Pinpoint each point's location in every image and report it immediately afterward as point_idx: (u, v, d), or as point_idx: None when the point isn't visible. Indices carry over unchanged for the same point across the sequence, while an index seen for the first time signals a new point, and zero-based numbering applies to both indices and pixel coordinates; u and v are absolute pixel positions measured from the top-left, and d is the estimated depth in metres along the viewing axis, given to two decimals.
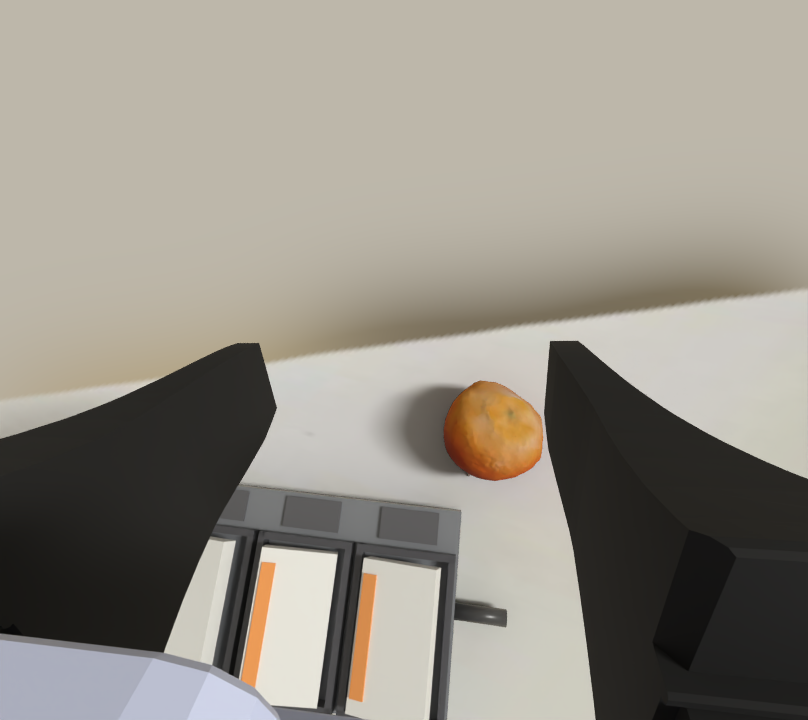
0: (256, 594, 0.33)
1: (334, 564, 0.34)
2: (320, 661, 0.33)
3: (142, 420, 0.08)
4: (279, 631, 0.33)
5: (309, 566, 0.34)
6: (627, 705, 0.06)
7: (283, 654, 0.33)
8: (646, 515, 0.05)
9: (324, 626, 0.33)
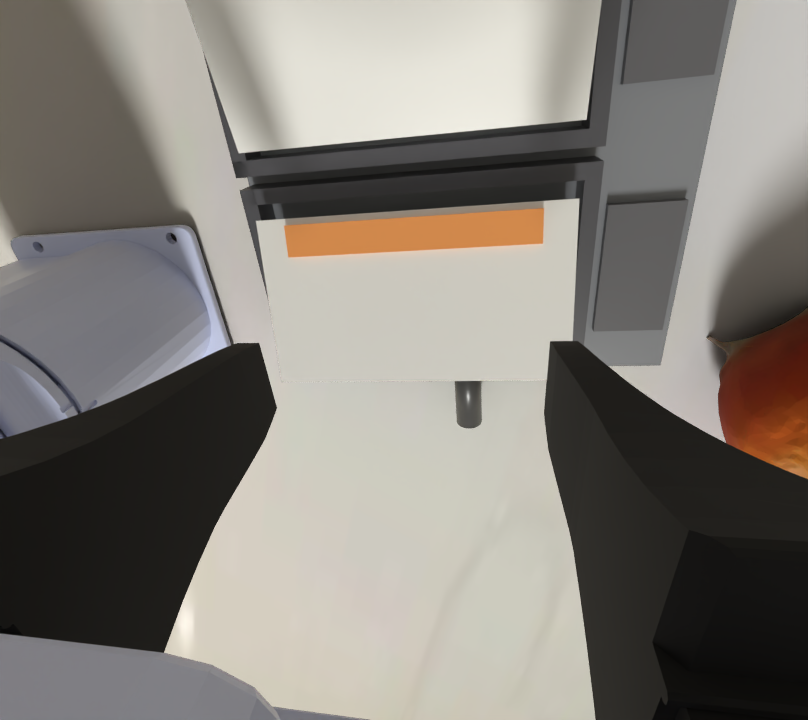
0: None
1: (559, 117, 0.12)
2: (329, 138, 0.13)
3: (142, 420, 0.08)
4: None
5: (553, 37, 0.11)
6: (627, 705, 0.06)
7: (313, 25, 0.12)
8: (646, 515, 0.05)
9: (404, 127, 0.13)
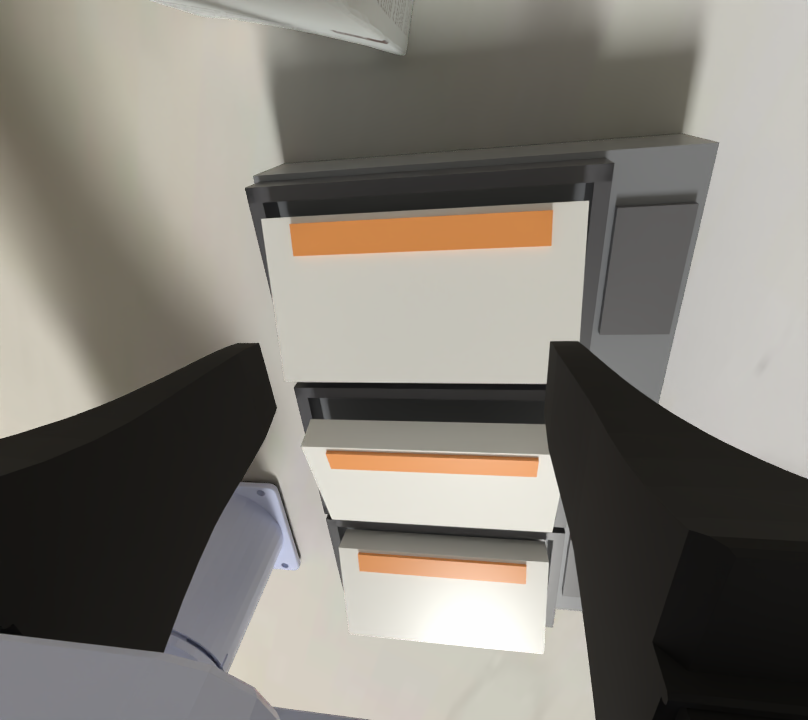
0: (476, 458, 0.17)
1: (535, 530, 0.20)
2: (391, 521, 0.21)
3: (142, 420, 0.08)
4: (421, 483, 0.19)
5: (531, 507, 0.19)
6: (627, 705, 0.06)
7: (388, 489, 0.19)
8: (645, 515, 0.05)
9: (439, 523, 0.21)
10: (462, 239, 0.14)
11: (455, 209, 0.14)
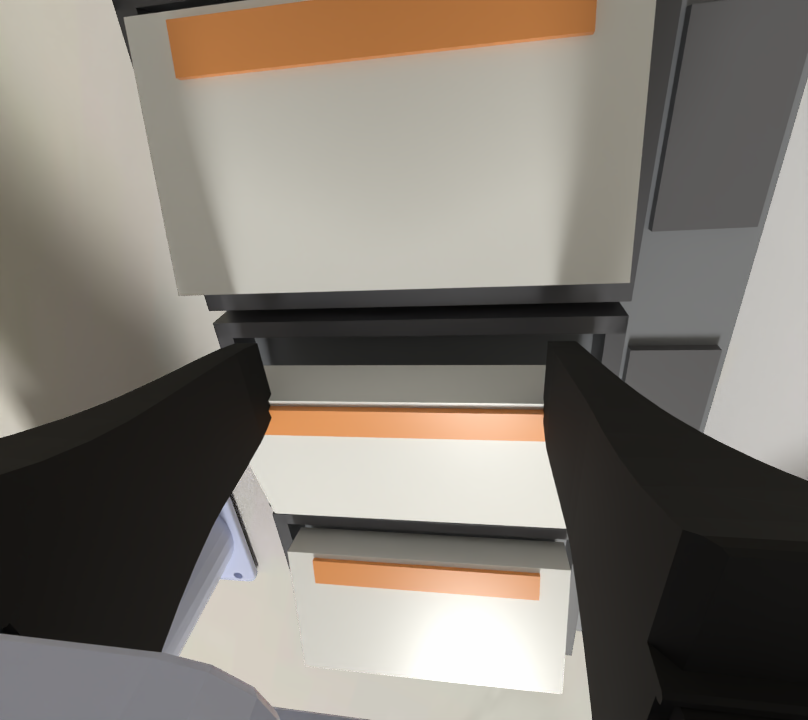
0: (470, 412, 0.11)
1: (554, 526, 0.14)
2: (354, 515, 0.15)
3: (140, 420, 0.08)
4: (391, 457, 0.13)
5: (549, 492, 0.13)
6: (622, 705, 0.06)
7: (346, 466, 0.14)
8: (641, 515, 0.05)
9: (421, 517, 0.15)
10: (445, 29, 0.08)
11: None
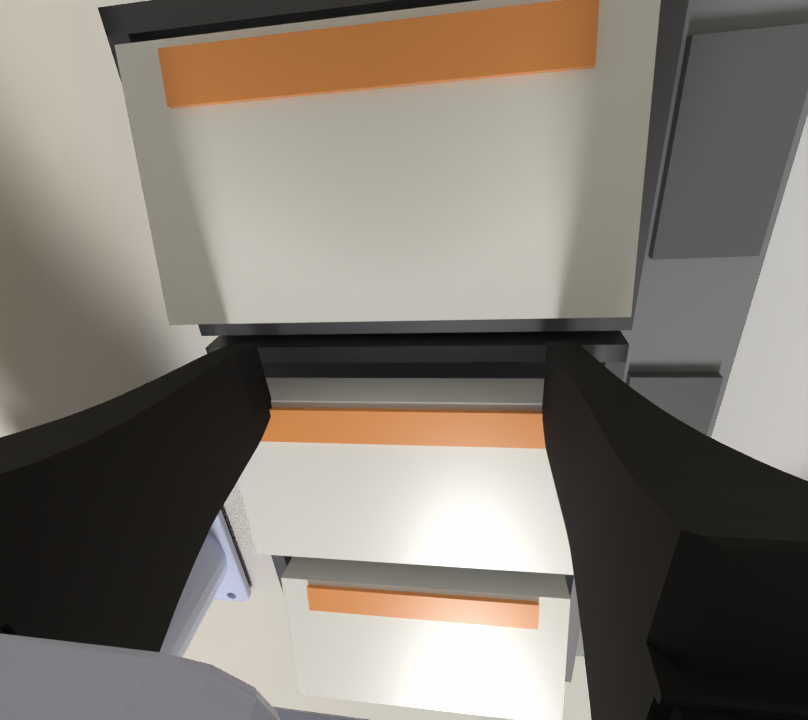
0: (468, 412, 0.12)
1: (558, 571, 0.13)
2: (342, 556, 0.14)
3: (138, 420, 0.08)
4: (387, 473, 0.13)
5: (550, 521, 0.13)
6: (621, 704, 0.06)
7: (339, 486, 0.13)
8: (639, 516, 0.05)
9: (414, 558, 0.14)
10: (442, 61, 0.08)
11: (430, 9, 0.08)
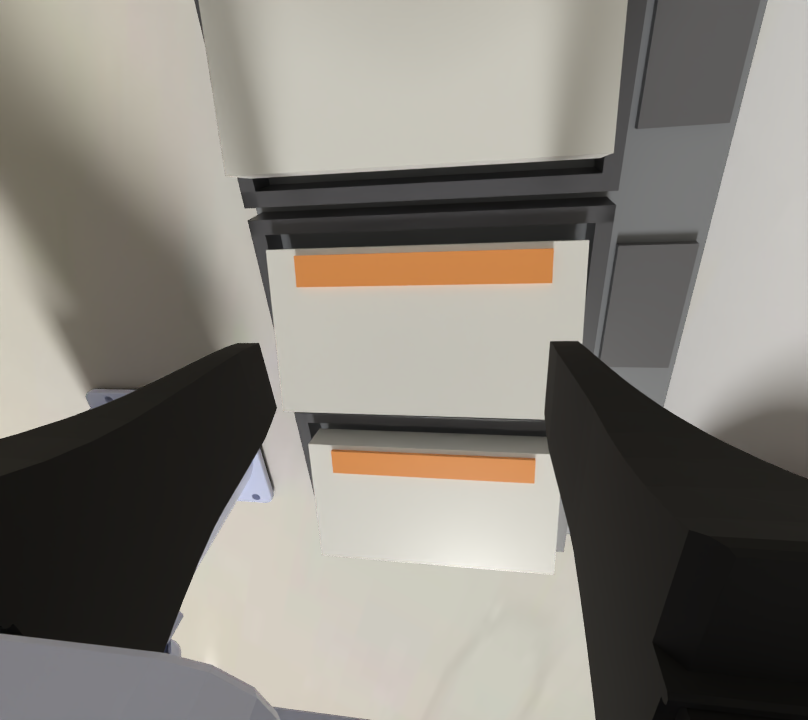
0: (477, 250, 0.14)
1: None
2: (361, 410, 0.16)
3: (142, 420, 0.08)
4: (405, 317, 0.15)
5: (547, 362, 0.14)
6: (627, 705, 0.06)
7: (363, 333, 0.15)
8: (646, 516, 0.05)
9: (425, 409, 0.16)
10: None
11: None
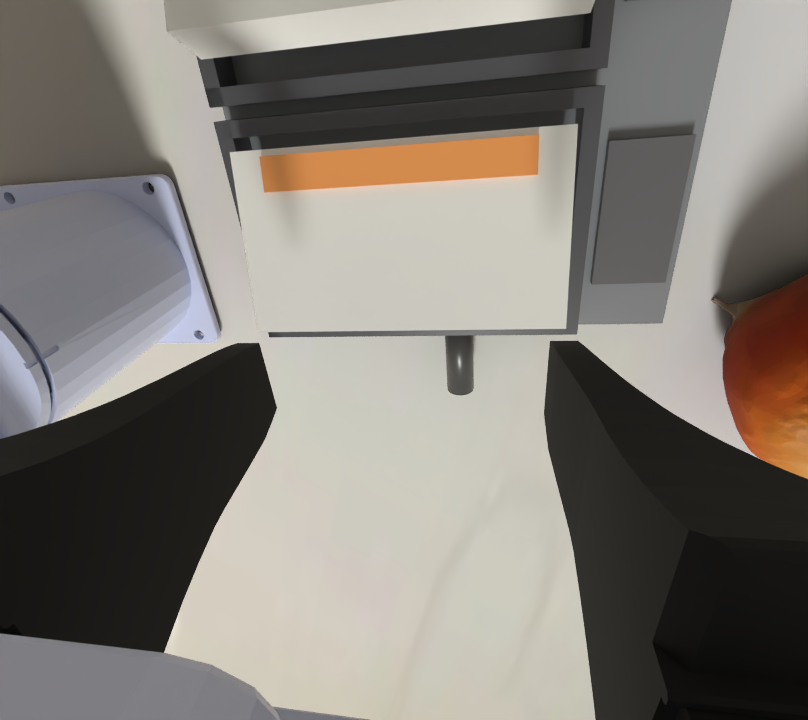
0: None
1: None
2: (278, 9, 0.11)
3: (142, 420, 0.08)
4: None
5: None
6: (627, 705, 0.06)
7: None
8: (646, 515, 0.05)
9: None
10: None
11: None
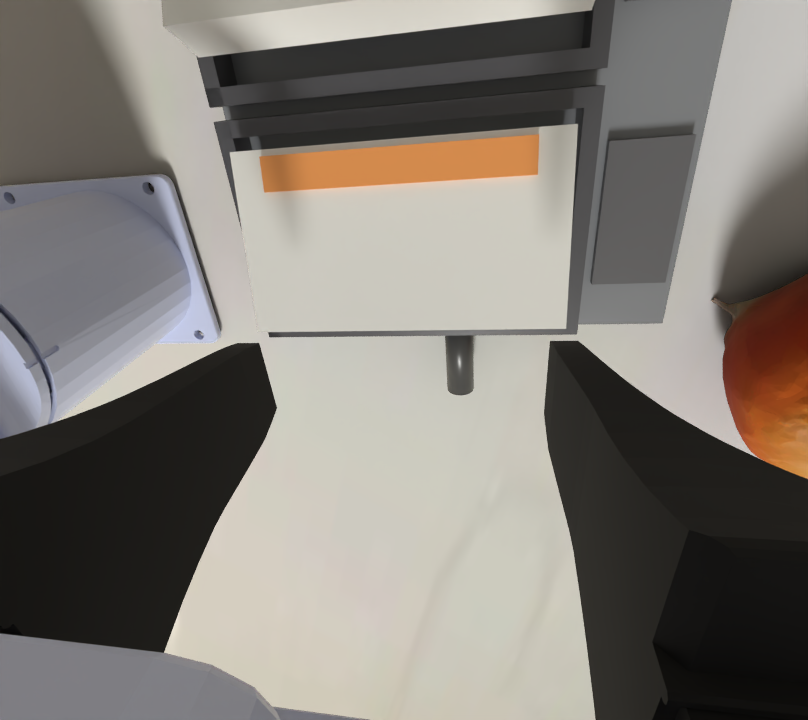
0: None
1: None
2: (277, 4, 0.11)
3: (142, 420, 0.08)
4: None
5: None
6: (627, 705, 0.06)
7: None
8: (646, 515, 0.05)
9: None
10: None
11: None
